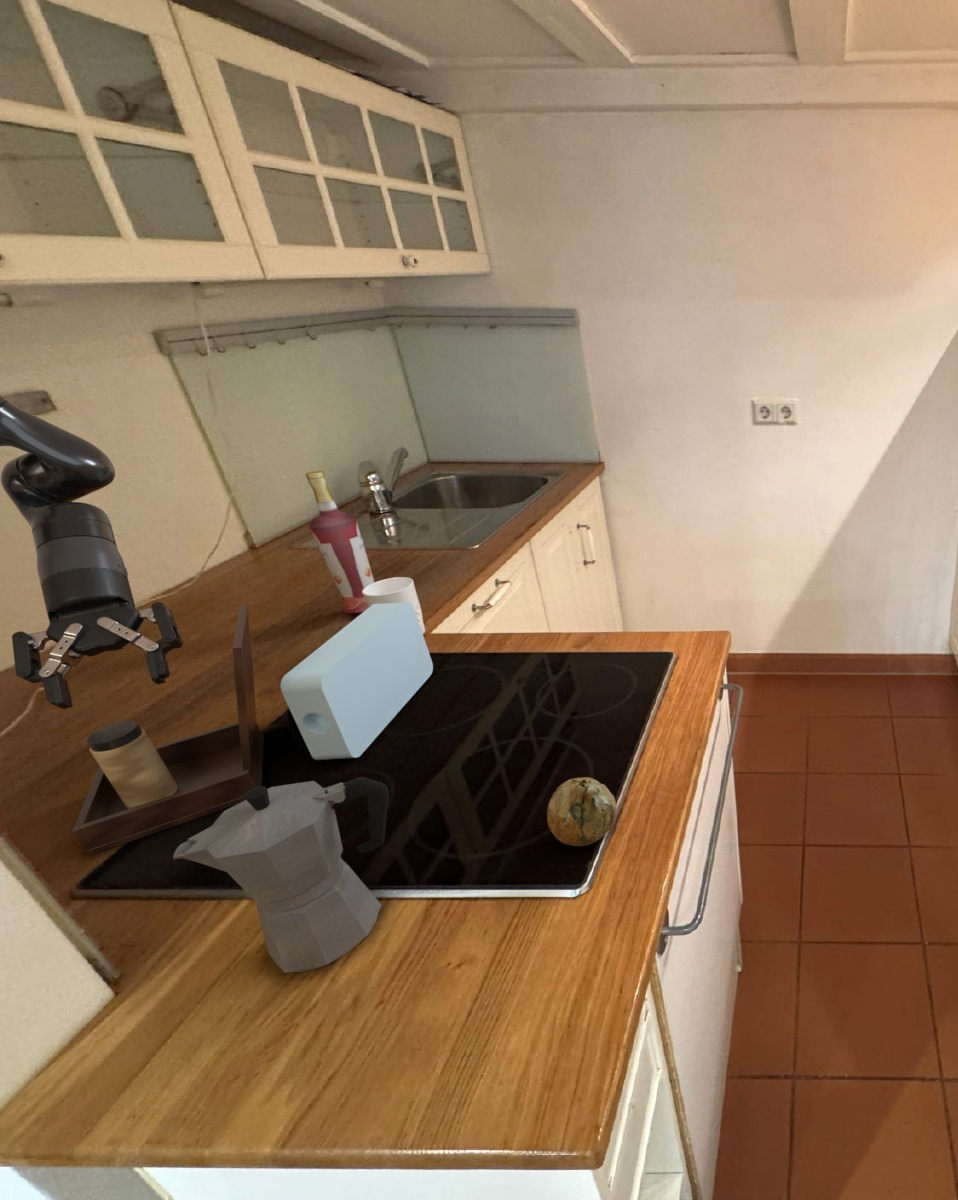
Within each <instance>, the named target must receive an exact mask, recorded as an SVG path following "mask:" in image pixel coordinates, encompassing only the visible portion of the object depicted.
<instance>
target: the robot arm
mask: <svg viewBox="0 0 958 1200" xmlns="http://www.w3.org/2000/svg"><path fill="white" fill-rule="evenodd" d="M0 447H11V448H15V449H18V450H20V451H23V452H25V453H24V454H22V455H20V456H17V457H15V458H13V459H11V460H9V461H8V462H6V464H4V466H3V468H2V470H1V473H0V484H1V487H2V489H3V490H4V492H5V494H6V495H7V496H8V498H9V499H10V500H11V502H12V503H13V504H14V506H15V507H16V509H17V510H18V512H19V513H20V515H21V516H22V517H23V519H24V520H25V521H26V522H27V524H28V525H29V527H30V529H31V535H32V539H33V543H34V547H35V552H36V570H37V574H38V579H39V583H40V588H41V592H42V597H43V602H44V604H45V610H46V615H47V618H48V621H49V622H48V623H49V624H48V627H47V629H46V630H43V631H37V632H32V633H26V632H25V631H21V630H20V631H16V632H15V633H13V634H12V635H11V641H12V642H11V643H12V651H13V661H14V670H15V675H16V677H19V678H20V679H23V680H24V681H26V682H28V683H31V684H37V683H42V684H43V685H42V686H43V689H44V695H45V698H46V701H47V702H48V703H49V704H51V705H53V706H55V707H58V708H60V709H62V710H66V709H69V708H73V706H74V705H73V701H72V696H71V691H70V687H69V683H68V680H67V679H65V678H66V677H67V675H68V674H69V673H70V672H71V670H72V669H73V668H75V667H77V666H78V665H79V663H80V662H81V661H82V659H83V658H84V657H85V656H88V657H95V656H99V655H101V654H103V653H105V652H112V651H113V652H116V651H119V650H123V649H124V647H125V646H127V645H128V644H130V645H131V646H134V647H135V648H138V649H140V650H142V651H144V652H146V653H145V654H144V657H145V660H146V665H147V669H148V672H149V676H150V679H151V681H152V682H153V683H155V684H156V685H162V684H166V682H167V681H166V679H167V678H170V675H171V671H170V668H169V663H168V660H167V654H168V652H170V651H172V650H174V649H180V648H181V647H183V645H184V641H183V639H182V636H181V633H180V631H179V628H178V626H177V623H176V620H175V617H174V614H173V612H172V610H170V609H169V607H168V606H167V605H165V604H164V603H163V602H160V601H156V602H154V603H152V604H151V607H147V608H144V609H140V610H137V608H136V604H135V600H134V596H133V591H132V589H131V584H130V581H129V577H128V576H129V572H128V570H127V567H126V566H125V562H124V559H123V556H122V555H121V553H120V552H119V551H120V550H119V549H118V546H117V542H116V539H115V538H116V537H115V535H114V531H113V526H112V523H111V520H110V519H109V516H108V514H107V513H106V512H105V511H104V510H103V509H102V508H100V507H99V506H97V505H93V504H91V503H87V502H80V501H76V500H80V499H81V498H83V497H86V496H88V495H90V494H92V493H94V492H97V491H99V490H101V489H103V488H105V487H108V486H109V485H110V484H111V483H112V482H113V481H114V480H115V477H116V469H115V467H114V464H113V463H112V460H111V459H110V458H109V457H108V456H107V454H106V453H105V452H103V450H101V449H100V448H99V447H97V446H96V445H94V444H93V443H91V442H89V441H88V440H86V439H84V438H82V437H80V436H78V435H76V434H74V433H72V432H69V431H68V430H65V429H64V428H61V427H59V426H57V425H55V424H53V423H51V422H49V421H46V420H45V419H43V418H41V417H38V416H37V415H34V414H32V413H30V412H28V411H26V410H24V409H22V408H21V407H18V406H17V405H15V403H12V401H10V400H8V399H7V398H5V397H4V396H3V395H2V394H0ZM145 620H149V622H151V623H152V624H155V625H157V627H158V630H159V632H160V635H161V638H159V640H156V641H153V640H152V639H149V638H147V637H146V636H144V635H142V634H140V633H139V632H138V630H139V629H140V627H141V626H142V625H143V623H144V621H145ZM50 641H53V642H54V643H56V644H55V646H54V647H53V648H52V650H51V651H50V652H49V654H48V659H47V661H46V662H45V663H44V665H43V666H42V661H41V651H43V650H45V648H46V644H47V643H48V642H50Z"/></svg>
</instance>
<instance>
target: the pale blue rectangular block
mask: <svg viewBox="0 0 958 1200" xmlns="http://www.w3.org/2000/svg"><path fill="white" fill-rule="evenodd" d="M433 671H434V664H433V660H432V657H431V655H430V652H429V649H428V646H427V643H426V640H425V636H424V633H423V634H422V631H421V628H420V625H419V622H418V619H417V616H416V613H415V610H414V607H413V605H412V604H411V603H409V602H402V603H383V604H373V605H372V606H370V607H369V608H368V609H367V610H365V611H364V612H363V613H362V614H360V615H359V616H356V617H355V618H354V619H353V620H352V621H351V622H349V623H348V624H346V625H345V626H344V627H343V628H342V629H340V630H339V631H338V632H336V634H334V635H333V636H331V637H330V638H329V639H328V640H327V641H325V642H324V643H323V644H321V646H319V647H317V649H315V650H314V651H313V652H311V654H309V655H308V656H307V657H305V658H303V660H302V661H300V662H299V663H298V664H297V665H295V666H294V667H293V668H292V669H290V670H289V671H288V672H286V673H285V674H284V675H283V677H282V678H281V681H280V691H281V694H282V696H283V699H284V700H285V703H286V705H287V707H288V709H289V711H290V714H291V715H292V717H293V720H294V721H295V724H296V726H297V728H298V730H299V733H300V734H301V736H302V739H303V741H304V743H305V745H306V747H307V749H308V752H309V753H310V756H311V758H312V759H313V760H316V761H323V760H341V759H354V758H355V759H357V758H359V757H361V756H362V755H363V753H364V752H365V751H366V750H367V749H368V748H369V747H370V746H371V744H372V743H373V742H374V741H375V740H376V739H377V738H378V736H379V735H380V734H381V733H382V732H383V731H384V729H385V728H386V727H387V726H388V725H389V724H390V723H391V722H392V721H393V719H394V718H395V717H396V716H397V714H398V713H399V712H400V711H401V710H402V709H403V708H404V707H405V706H406V704H408V702H409V701H410V700H411V699H412V697H413V696H414V695H415V694H416V693H417V692H418V691H419V690H420V688H422V686H423V685H424V684H425V683H426V681H427V680H428V679H430V677H431V675H432V674H433Z"/></svg>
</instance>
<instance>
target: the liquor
mask: <svg viewBox="0 0 958 1200" xmlns="http://www.w3.org/2000/svg"><path fill="white" fill-rule="evenodd" d="M305 476H306V477H305V478H306V479H307V482H308V484H309V486H310V487H311V489H312V491H313V494H314V498H315V502H316V505H317V509H318V513H319V515H317V516H315V517H314V518H312V520H311V521H310V522H309V524H308V527H309V530H310V531H311V534H312V536H313V538H314V541H315V543H316V545H317V547H318V550H319V552H320V554H321V556H322V558H323V560H324V563H325V564H326V566H327V568H328V570H329V573H330V576H331V577H332V580H333V582H334V584H335V586H336V588H337V592H338V593H339V596H340V598H341V601H342V604H343V609H342V610H343V612H345V613H347V614H350V615H353V616H356V617H358V616H359V615H360V614H362V613H363V612H364V611H365V610H367V609H368V608H369V607H368V605H367V603H366V600H365V598H364V596H363V593H362V590H363V589H364V588H365V587H366V586H368V585H370V584H372V583H375V582H376V581H375V578H374V575H373V572H372V569H371V568H372V567H371V565H370V561H369V558H368V554H367V551H366V547H365V544H364V539H363V537H362V534H361V531H360V527H359V524H358V521H357V517H356V515H354V514H353V513H349V512H347V511H346V512H345V511H341V510H339V508H338V506H337V504H336V502H335V500H334V498H333V495H332V494H331V492H330V489H329V487H328V481H327V478H326V475H325V472H324V470H313V471H308V472H306V473H305Z"/></svg>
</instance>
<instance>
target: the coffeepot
mask: <svg viewBox="0 0 958 1200" xmlns="http://www.w3.org/2000/svg"><path fill="white" fill-rule="evenodd" d="M243 797H244V798H245V799H246V800H245V801H243V802H241V803H239V804H236V805H234V806H231V807H228V808H226V809H224V810H223V812H222V813H221V814H220V815H219V817H218V818H217V819H216V820H215V821H214V822H213V824H211V826H209V827H207V828H206V829H204V830H202V831H200V832H198V833H196V834H195V835H193V836H191V837H188V838H187V840H186V841H185V842H182V843H181V844H179V846H177V848H176V849H175V851H174V853H173V857H172V859H173V860H178V859H182V860H183V859H184V860H188V861H190V862H191V861H192V862H195V863H199V864H201V865H205V866H208V867H210V868H214V869H216V870H219V871H222V872H226V873H227V874H228V875H229V876H230V877H231V878H232V879H233V880H234V881H235V882H236V883H237V884H238V886H240V887H241V889H243V890H244V892H245V893H246V894H247V895H248V896H249V897H250V898H251V899H252V900H253V901H254V902H255V903H256V911H257V914H258V919H259V922H260V926H261V929H262V934H263V938H264V942H265V947H266V949H267V954H268V955H269V957H270V958H271V960H273V962H274V963H275V964H276V965H277V966H278V967H279V968H280V969H281V970H282V971H283V973H284V974H289V973H302V972H308V971H312V970H316V969H319V968H322V967H325V966H328V965H330V964H332V963H333V962H335V961H338V959H339V960H340V959H341V958H343V957H344V956H345V955H347V954H348V953H350V952H352V950H354V949H355V948H356V947H357V946H358V945H360V944H361V943H362V942H363V940H365V939H366V938H367V937H368V936H369V934H370V933H371V931H372V929H373V928H374V926H375V924H376V923H377V920H378V917H379V913H380V909H381V907H382V903H381V902H380V901H379V899H377V898H376V896H375V895H374V894H373V893H372V892H371V891H370V889H369V888H368V887H367V885H366V884H365V883H364V882H363V881H362V880H361V879H360V877H359V876H358V875H357V873H355V871H354V870H353V869H352V868H351V867H350V866H349V864H348V863H346V861H344V859H342V854H343V852H344V848H343V843H342V838H341V833H340V830H339V825H338V819H337V815H336V812H335V811H336V810H335V809H337V808H339V807H342V806H343V805H346V804H348V803H350V802H351V801H353V800H355V799H357V798H360V797H365V798H368V799H367V803H366V807H367V812H368V816H369V818H368V821H367V825H366V827H367V831H368V834H369V836H370V838H369V839H368V840H367V841H366V842H364V843H362V844H360V845H357V846H356V850H357V851H358V852H359V853H361V854H365V853H368V852H370V851H373V850H376V849H377V848H379V847H381V846H383V845H384V843H385V840H386V839H385V838H386V824H387V814H388V803H389V797H390V796H389V788H388V786H387V785H386V784H384V783H383V782H380V781H377V780H374V779H371V778H367V777H363V776H361V777H356V778H354V779H352V780H348V781H347V782H338V783H336V784H333V785H329V786H326V787H322V785H320V784H318V783H317V781H315V780H310V781H304V782H295V783H290V784H282V785H276V786H270V787H268V788H267V787H266V786H265V785H264V786H263V785H261V787H256V788H254V789H252V790H250V791H248V792H247V793H246V794H245V795H244V796H243Z"/></svg>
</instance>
